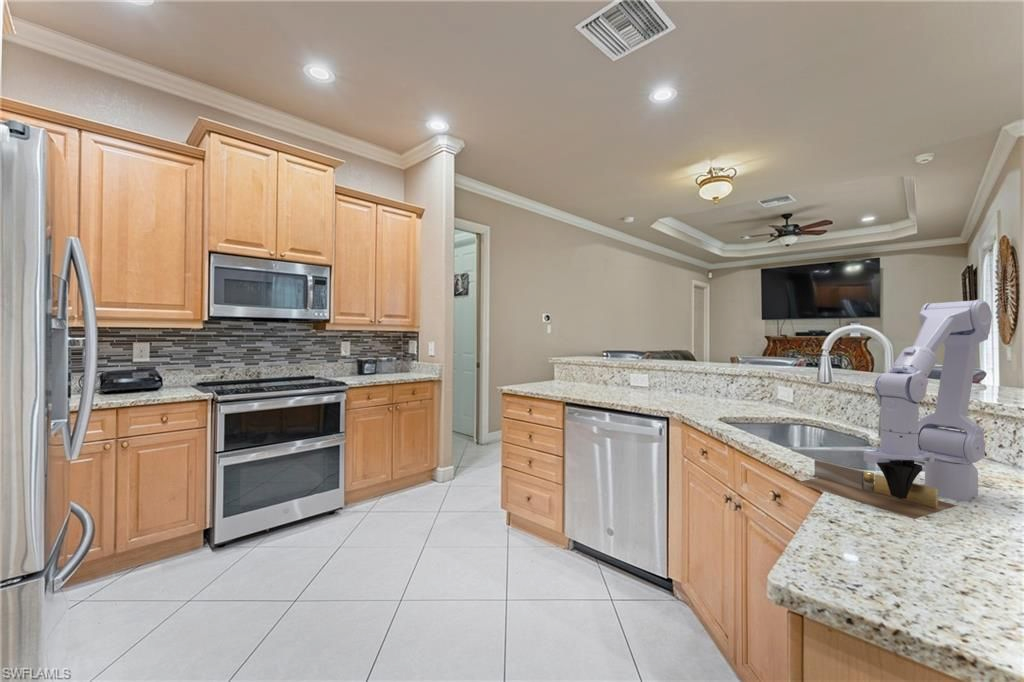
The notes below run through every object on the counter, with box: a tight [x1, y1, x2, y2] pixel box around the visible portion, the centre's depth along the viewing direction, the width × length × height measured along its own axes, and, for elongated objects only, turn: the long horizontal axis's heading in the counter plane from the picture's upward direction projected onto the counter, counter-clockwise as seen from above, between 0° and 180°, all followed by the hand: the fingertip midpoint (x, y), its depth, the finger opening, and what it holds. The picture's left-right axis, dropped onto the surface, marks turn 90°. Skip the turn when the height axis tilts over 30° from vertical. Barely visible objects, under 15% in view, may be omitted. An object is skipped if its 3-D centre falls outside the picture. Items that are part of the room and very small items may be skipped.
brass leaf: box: [864, 471, 939, 508], centre depth 88 cm, size 12×2×4 cm, turn 26°
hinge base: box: [794, 459, 958, 520], centre depth 92 cm, size 17×23×5 cm
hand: (898, 496), depth 85 cm, fingers closed
